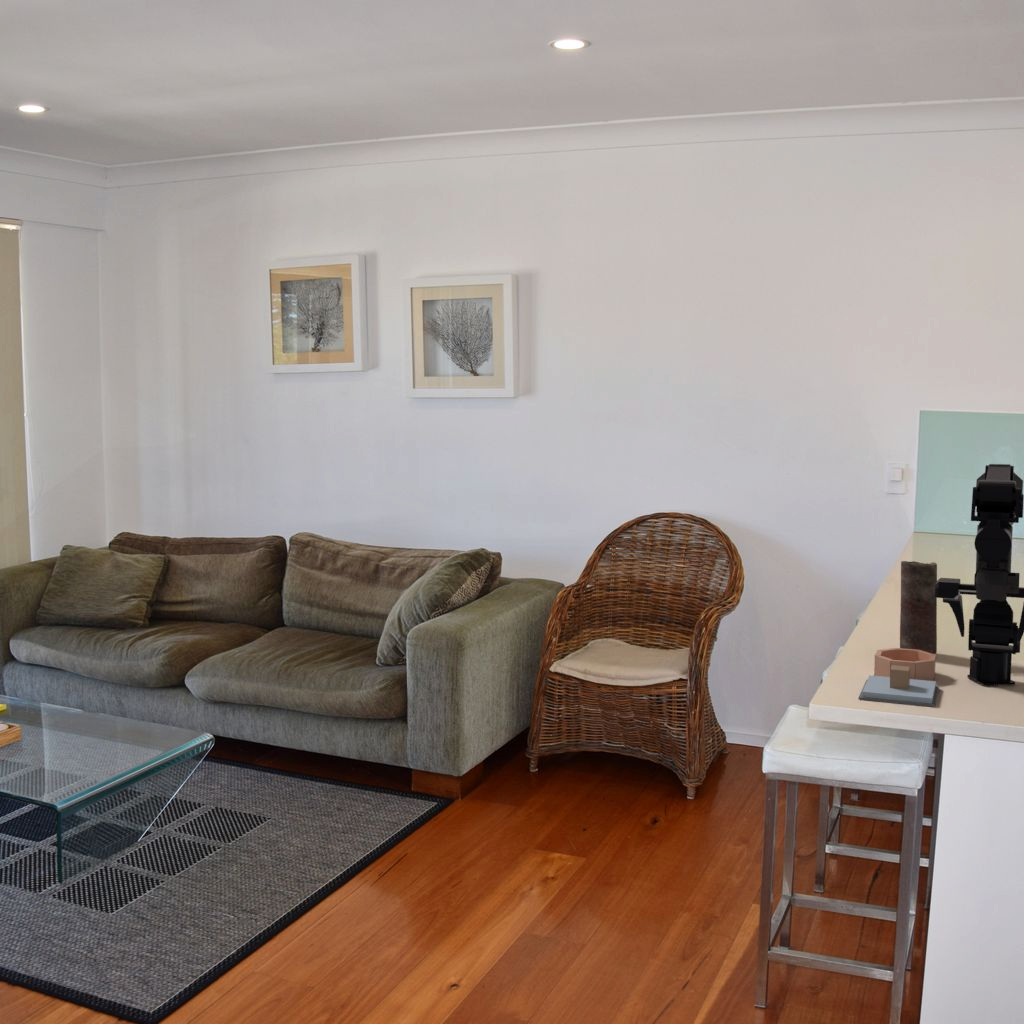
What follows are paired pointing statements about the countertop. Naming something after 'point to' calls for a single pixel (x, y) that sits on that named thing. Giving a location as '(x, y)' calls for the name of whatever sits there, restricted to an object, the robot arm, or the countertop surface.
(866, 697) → the mat
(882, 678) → the lid
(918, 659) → the dish
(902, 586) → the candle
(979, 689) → the countertop surface
